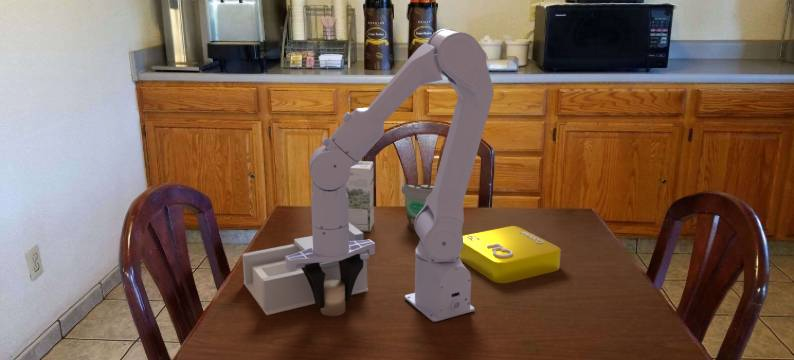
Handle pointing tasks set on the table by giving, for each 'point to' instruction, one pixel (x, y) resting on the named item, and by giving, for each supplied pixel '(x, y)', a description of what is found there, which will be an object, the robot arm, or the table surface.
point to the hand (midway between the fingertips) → (332, 302)
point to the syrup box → (361, 196)
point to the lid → (353, 236)
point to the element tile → (509, 254)
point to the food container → (415, 200)
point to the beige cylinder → (334, 298)
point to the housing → (285, 279)
